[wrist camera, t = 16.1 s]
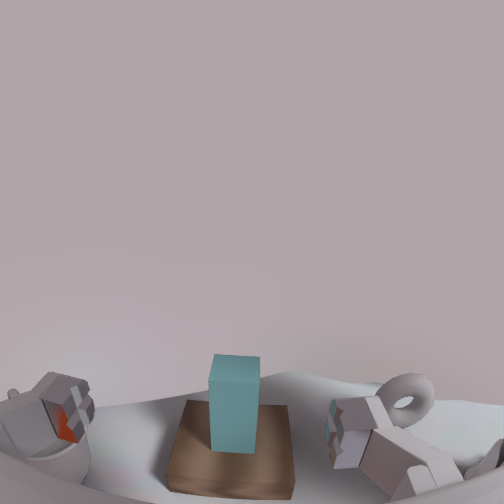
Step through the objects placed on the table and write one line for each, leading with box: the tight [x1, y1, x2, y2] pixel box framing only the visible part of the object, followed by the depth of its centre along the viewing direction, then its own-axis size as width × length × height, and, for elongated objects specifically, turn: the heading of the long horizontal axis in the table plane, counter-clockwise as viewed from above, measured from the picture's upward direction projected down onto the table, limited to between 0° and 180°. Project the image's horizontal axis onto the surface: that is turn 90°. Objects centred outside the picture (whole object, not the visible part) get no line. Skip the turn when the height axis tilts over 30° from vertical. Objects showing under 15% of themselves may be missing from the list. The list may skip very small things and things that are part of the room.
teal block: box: [209, 354, 260, 454], centre depth 33 cm, size 5×5×11 cm
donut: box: [375, 373, 435, 428], centre depth 39 cm, size 10×4×10 cm, turn 82°
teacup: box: [8, 389, 90, 484], centre depth 27 cm, size 12×15×10 cm
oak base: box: [166, 400, 295, 500], centre depth 35 cm, size 14×14×4 cm
